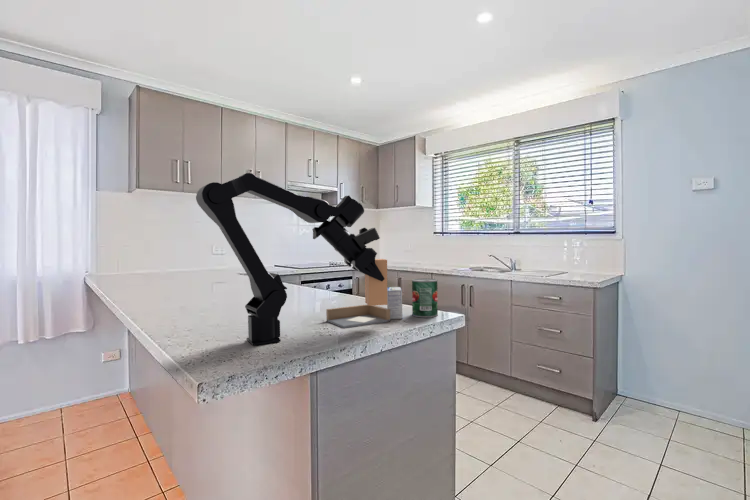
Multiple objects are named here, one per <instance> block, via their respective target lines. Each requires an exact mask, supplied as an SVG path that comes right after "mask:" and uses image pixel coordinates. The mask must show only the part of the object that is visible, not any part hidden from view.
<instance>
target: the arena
mask: <svg viewBox="0 0 750 500" xmlns="http://www.w3.org/2000/svg"><path fill="white" fill-rule="evenodd" d="M325 311H326V322H328V323H331V324H333V325H335V326H338V327H339V328H342V329H348V328H354V327H355V328H356V327H360V326H361V327H362V326H368V325H375V324H381V323H389V322H391V319H390V309H387V307H383V306H380V305H372V306H369V305H368V304H361V305H359V304H358V305H352V306H342V307H333V308H326V310H325Z"/></svg>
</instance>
